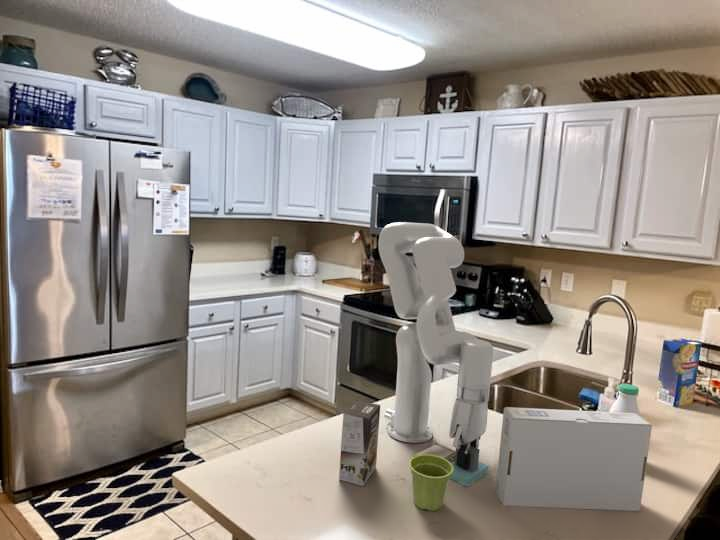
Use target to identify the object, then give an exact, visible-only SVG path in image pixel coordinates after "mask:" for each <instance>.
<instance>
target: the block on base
mask: <svg viewBox="0 0 720 540" xmlns="http://www.w3.org/2000/svg"><path fill="white" fill-rule="evenodd" d="M462 444H463V445H464V446H466V444H465V443H462ZM455 451H456V453H455V461H453V462H452V463H451V464H452V466H453V468H454V470H453V473H452V474H451V475H450V478H449V479H451V480H453V481H456V482H458V483H460V484H462V485H464V486H466V487H469V486H470V485H471V484H473V483H474V482H475V481H477V480H478V479H480V478H481V477H482V476H484V475H485V474H487V473H488V472H489V469H490V466H489V464H487V463H484V462H482V461H479V459H480V451H481V450H480V448H478V449H477V448H475V447H472V446H470V449H469V453H470V454H471V455H470V465H469V469H468V470H466V469H463V468H461V467H459V466H457V464H456V463H457V452H458V451H457V448H455Z"/></svg>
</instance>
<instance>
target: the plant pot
mask: <svg viewBox="0 0 720 540" xmlns="http://www.w3.org/2000/svg"><path fill="white" fill-rule="evenodd" d="M408 465H409V468H410V473H411V475H412V491H413V493H412V494H413V495H412V496H413V503H414V504H415V505H416V507H417V508H420V509H421V510H427V511H430V512H432V511H433V512H434V511H438V510H440V509H441V507H442V506H443V502H444V498H445V493H446V490H447V487H448V483H449V479H451V478H450V475H451V474H452V473H453V470H454V468H453V466H452V464H451V463H450V462H449V461H448V460H446V459H444V458H442V457H439V456H435V455H418V456H415V457H412V458H411V459H410V460H409V464H408Z"/></svg>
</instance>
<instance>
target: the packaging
mask: <svg viewBox="0 0 720 540" xmlns="http://www.w3.org/2000/svg"><path fill="white" fill-rule="evenodd" d="M652 428H653V425H652V424H651V423H650V422H648V420H645V419H644V418H643V417H642V416H641V417H640V416H638V415H637V414H635V413H619V412H610V411H593V410H573V409H555V408H552V409H551V408H535V407H534V408H533V407H532V408H531V407H512V406H509V407H508V406H506V407H504V408H503V414H502V424H501V433H500V442H499V443H500V444H499V454H498V461H497V462H498V463H497V473H496V482H495V483H496V484H495V493H496V494H497V496H498V499H499V500H500V503H501V504H502V506H503V507H505V506H507V507H527V508H529V507H532V508H552V509H553V508H554V509H555V508H556V509H577V510H580V509H581V510H604V511H605V510H606V511H628V512H629V511H632V512H641V507H642V506H641V504H642V498H643V492H644V485H645V484H644V483H645V478H646V471H647V466H648V465H647V464H648V457H649V450H650V442H651V435H652Z"/></svg>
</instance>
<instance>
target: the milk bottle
mask: <svg viewBox="0 0 720 540" xmlns="http://www.w3.org/2000/svg"><path fill="white" fill-rule="evenodd" d="M617 392H618V397H617V399H616V400H615V402H614V403H613V404H612V406H611V407H610V410H609V412H619V413H635V414H637V415H638V416H640V417H641V418H642V416H641V412H640V409H639V406H638V401H637V400H638V399H637V398H638V397H639V387H638V386H636V385H633V384H629V383H620V384H619V385H618V390H617Z"/></svg>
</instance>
